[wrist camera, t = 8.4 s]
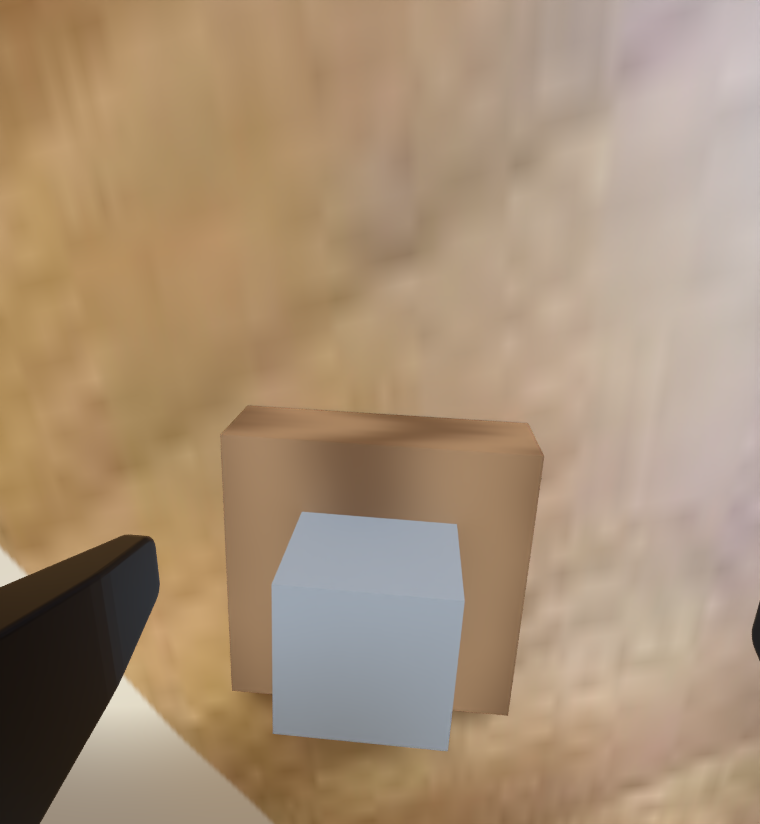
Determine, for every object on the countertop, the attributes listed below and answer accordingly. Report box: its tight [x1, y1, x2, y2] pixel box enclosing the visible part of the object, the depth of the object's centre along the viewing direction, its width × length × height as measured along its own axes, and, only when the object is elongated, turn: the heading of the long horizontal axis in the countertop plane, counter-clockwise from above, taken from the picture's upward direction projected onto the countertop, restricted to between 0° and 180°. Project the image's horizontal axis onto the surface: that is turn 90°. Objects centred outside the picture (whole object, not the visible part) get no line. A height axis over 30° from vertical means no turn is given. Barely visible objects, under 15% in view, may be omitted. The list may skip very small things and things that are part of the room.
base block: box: [220, 406, 544, 716], centre depth 21 cm, size 10×10×3 cm
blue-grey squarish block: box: [272, 512, 465, 751], centre depth 18 cm, size 5×5×4 cm
